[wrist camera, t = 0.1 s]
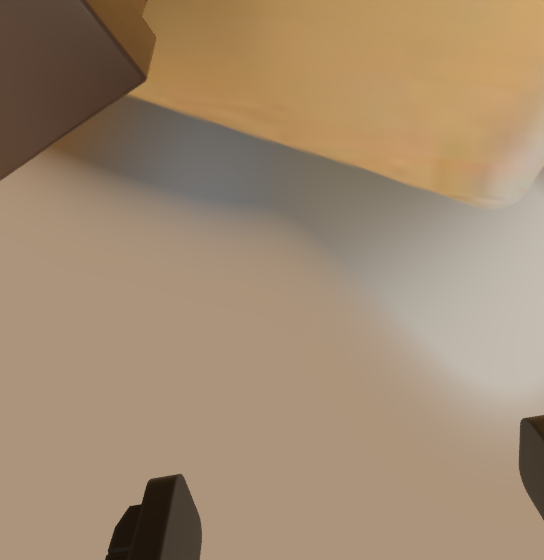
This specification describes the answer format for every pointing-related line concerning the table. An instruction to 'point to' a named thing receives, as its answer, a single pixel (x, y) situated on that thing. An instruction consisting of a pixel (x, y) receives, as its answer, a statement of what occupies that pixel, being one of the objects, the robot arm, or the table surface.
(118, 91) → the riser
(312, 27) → the table surface
